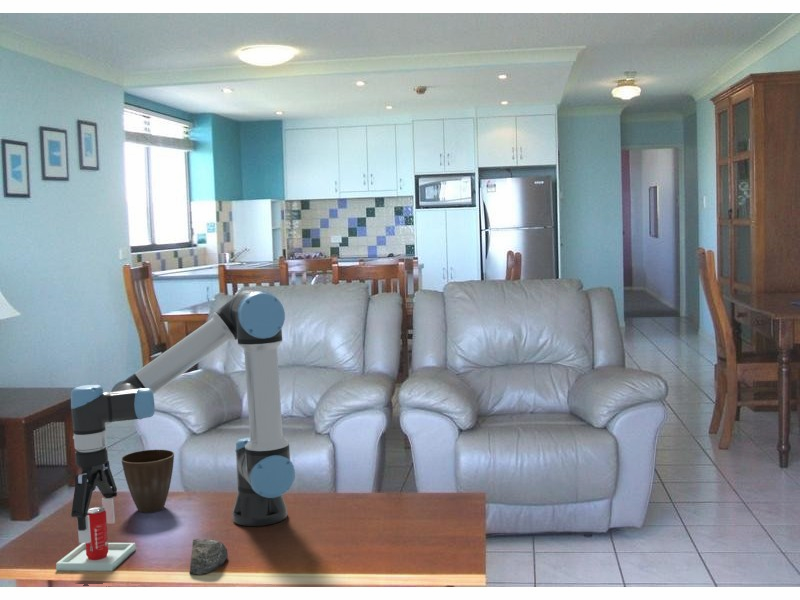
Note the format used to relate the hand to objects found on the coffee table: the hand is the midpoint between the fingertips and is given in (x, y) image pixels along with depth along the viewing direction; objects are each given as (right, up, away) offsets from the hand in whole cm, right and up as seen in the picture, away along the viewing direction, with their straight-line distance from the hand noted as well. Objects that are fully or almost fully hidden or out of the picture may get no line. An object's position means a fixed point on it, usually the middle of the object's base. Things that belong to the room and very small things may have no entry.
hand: (97, 532), depth 214 cm
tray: (0, -7, 0) cm, 7 cm away
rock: (+29, -7, -5) cm, 30 cm away
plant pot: (+2, -4, +40) cm, 40 cm away
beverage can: (0, -6, +1) cm, 7 cm away
